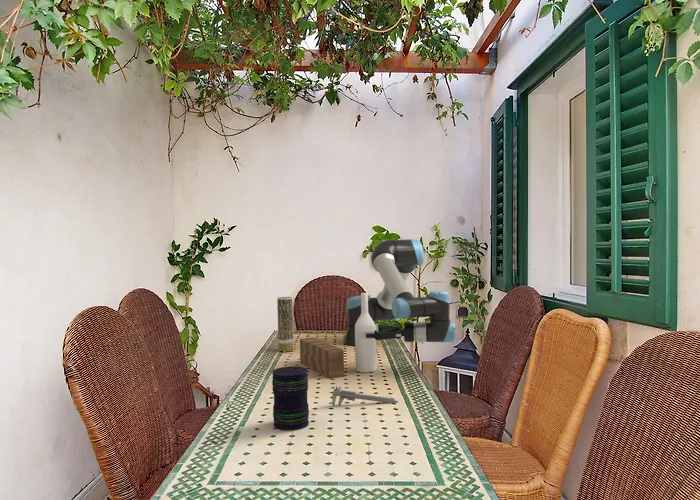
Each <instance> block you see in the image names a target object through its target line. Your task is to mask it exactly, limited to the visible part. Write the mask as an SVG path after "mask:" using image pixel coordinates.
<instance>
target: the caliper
mask: <svg viewBox="0 0 700 500" xmlns="http://www.w3.org/2000/svg"><path fill="white" fill-rule="evenodd" d="M341 388H342V387H341V385H340V386H339V387H338V386H337V385H336V388H334V389H333V391H332V397H331V398H332V399H331V400H332V406H333V407H335V405H336V401H337V397H339V398H338V407H341V405H342V403H343V401H344V400H345V399H346V400H348V401H352V402H355V400H365V401H372V402H378V403H386V404H394V403H399V400H397V399H395V398H393V397H387V396H379V395H372V394H366V393H364V394H363V393H357V392H356V391H353V390H346V389H341Z"/></svg>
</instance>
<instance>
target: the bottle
mask: <svg viewBox="0 0 700 500" xmlns="http://www.w3.org/2000/svg"><path fill="white" fill-rule="evenodd" d="M360 295H361V315H360V317H359V318H358V320H357V322H356V324H355V346H354V347H355V349H354V350H355V351H354V353H355V370H356V371H357V372H359V373H372V372H375V371H377V340H376V339H357V332H358V331H375V330H376V328H375V326H376V323H375V321H373V320H372V318H371V317H370V315H369V313H368V295H369V293H368V292H361V294H360Z"/></svg>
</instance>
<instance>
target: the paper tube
mask: <svg viewBox="0 0 700 500" xmlns="http://www.w3.org/2000/svg"><path fill="white" fill-rule="evenodd" d="M292 297H293V296H280V297H279V296H278V297H277V299H276V300H277V303H276V304H277V309H276V310H277V333H278V334H277V338H278V339H277V340H278V341H277V343H278V352H280V351H290V352H292V351H293V350H294V332H293V331H294V329H293V328H294V327H293V326H294V325H293V323H294V322H293V298H292Z"/></svg>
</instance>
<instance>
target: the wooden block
mask: <svg viewBox="0 0 700 500" xmlns="http://www.w3.org/2000/svg"><path fill="white" fill-rule="evenodd" d="M299 348H300V349H299V355H300V356H299V361H300V364H303V365H304V366H306V367H308V368H310V369H311V370H313V371H315V372H317V373H318V374H320V375H322V376H324V377H326V378H327V379H329V380H330V379H336V378H341V377H342V378H343V377H345V359H344V358H345V355H344V354H345V353H344V352H345V350H344V349H343V348H340V347H338V346H335V345H334V344H333V345H332V344H330V343H327V342H325V341H323V340H321V339H317V338H315V337H308V338H307V337H306V338H299Z"/></svg>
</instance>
